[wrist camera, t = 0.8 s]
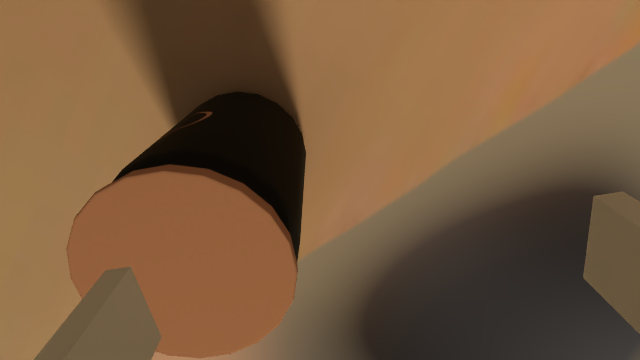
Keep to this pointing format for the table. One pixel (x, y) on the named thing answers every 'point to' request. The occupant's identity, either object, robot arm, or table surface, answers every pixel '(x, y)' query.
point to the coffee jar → (204, 226)
